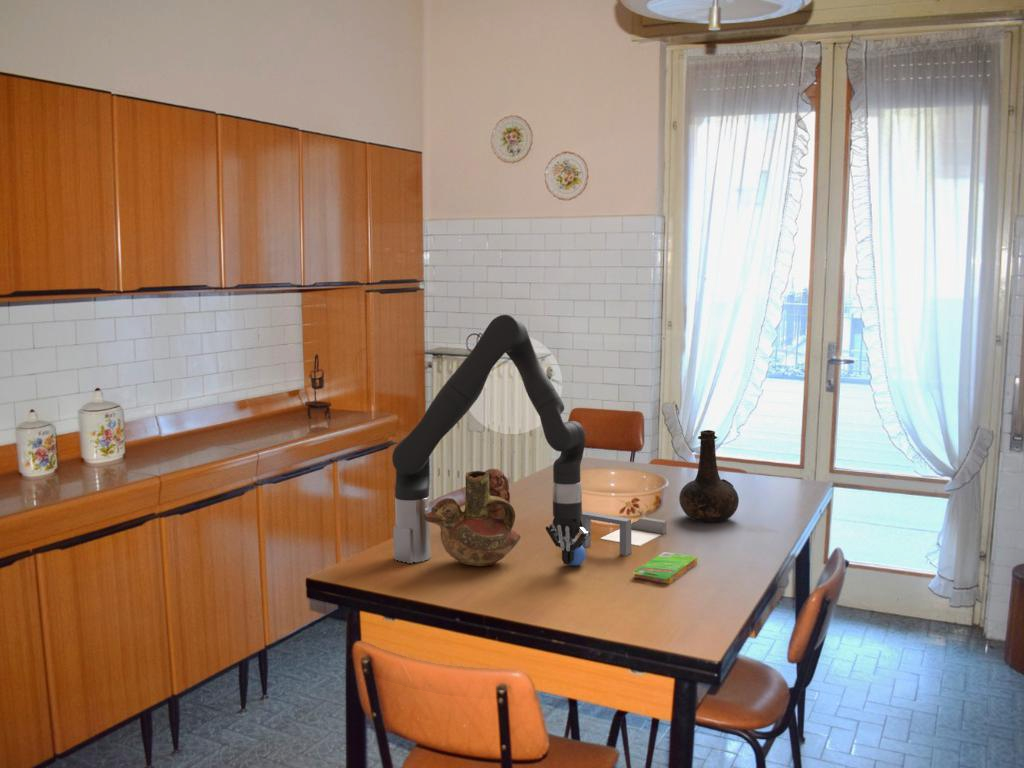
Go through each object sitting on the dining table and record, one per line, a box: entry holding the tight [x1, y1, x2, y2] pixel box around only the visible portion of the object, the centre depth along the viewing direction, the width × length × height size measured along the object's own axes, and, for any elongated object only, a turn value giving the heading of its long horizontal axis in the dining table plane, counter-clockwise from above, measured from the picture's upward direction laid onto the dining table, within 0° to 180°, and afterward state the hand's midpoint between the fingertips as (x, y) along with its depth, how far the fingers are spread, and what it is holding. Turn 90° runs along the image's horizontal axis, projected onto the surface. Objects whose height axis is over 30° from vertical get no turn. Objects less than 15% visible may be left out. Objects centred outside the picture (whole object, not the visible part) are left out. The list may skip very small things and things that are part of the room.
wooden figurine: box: [484, 468, 511, 518], centre depth 282 cm, size 12×6×18 cm, turn 143°
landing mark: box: [599, 528, 662, 547], centre depth 271 cm, size 13×13×1 cm
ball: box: [568, 546, 587, 567], centre depth 245 cm, size 6×6×6 cm
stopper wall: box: [631, 516, 667, 535], centre depth 278 cm, size 2×13×4 cm, turn 54°
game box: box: [632, 551, 698, 585], centre depth 240 cm, size 3×10×20 cm
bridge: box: [581, 510, 632, 557], centre depth 258 cm, size 3×15×10 cm, turn 54°
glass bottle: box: [678, 429, 739, 524], centre depth 287 cm, size 18×18×28 cm
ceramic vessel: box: [424, 470, 521, 567], centre depth 246 cm, size 17×26×25 cm, turn 105°
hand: (568, 563), depth 242 cm, fingers closed
